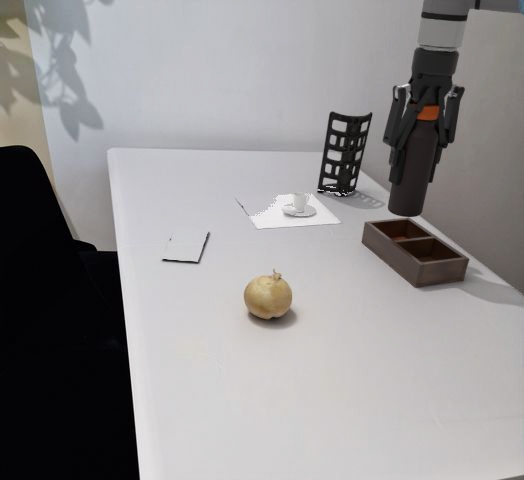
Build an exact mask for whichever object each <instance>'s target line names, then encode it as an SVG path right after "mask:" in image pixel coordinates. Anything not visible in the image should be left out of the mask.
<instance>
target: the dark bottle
mask: <svg viewBox="0 0 524 480" xmlns="http://www.w3.org/2000/svg"><path fill="white" fill-rule="evenodd" d="M412 105H414V106H417V105H416V104H414V103H413V104H412ZM438 113H439V106H437V105H433V106H424V107H423V110H422V112H421V113H419V114H418V116H417V119H416V121H415V123H414V125H413V127H412V129H411V131H410V133H409V135H408V137H407V139H406V141H405V143H404V145H403V149H405V150H406V152H405V157H404V163H403V168H402V173H401V178H400V183H399V185H394V184H393V183H391V187H390V192H389V197H388V202H387V203H388V204H387V210H388V211H389V212H390V213H391V214H392V215H395V216H398V217H401V218H415V217H419V216H421V214H422V213H423V209H424V204H425V200H426V196H427V191H428V187H429V184H430V183H429V178H430V174H431V169H432V165H433V160H434V156H435V151H436V147H437V142H438V138H439V136H438V133H437V131H436V130H435V128H434V123H435V122H436V121H437V120H436V119H437V117H438Z"/></svg>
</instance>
